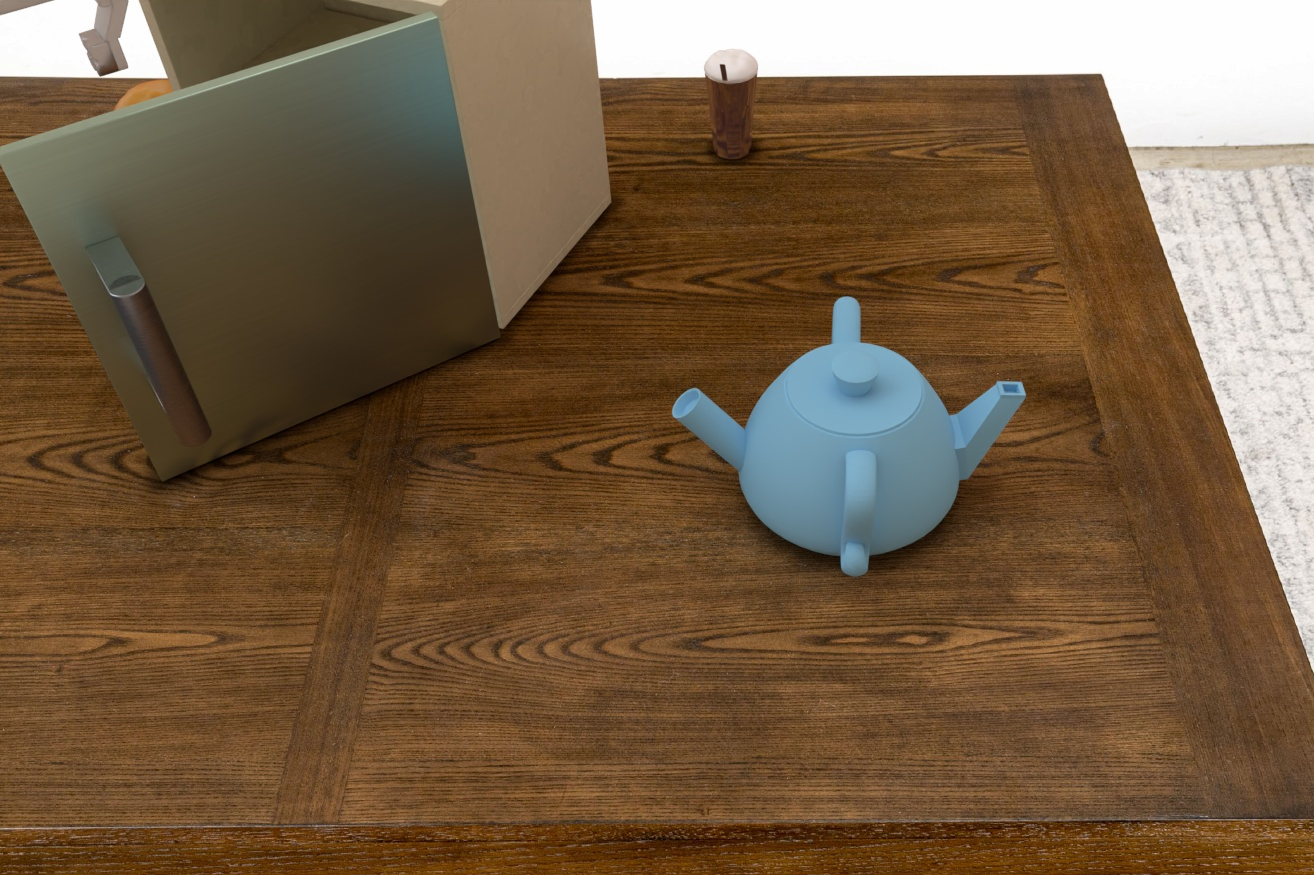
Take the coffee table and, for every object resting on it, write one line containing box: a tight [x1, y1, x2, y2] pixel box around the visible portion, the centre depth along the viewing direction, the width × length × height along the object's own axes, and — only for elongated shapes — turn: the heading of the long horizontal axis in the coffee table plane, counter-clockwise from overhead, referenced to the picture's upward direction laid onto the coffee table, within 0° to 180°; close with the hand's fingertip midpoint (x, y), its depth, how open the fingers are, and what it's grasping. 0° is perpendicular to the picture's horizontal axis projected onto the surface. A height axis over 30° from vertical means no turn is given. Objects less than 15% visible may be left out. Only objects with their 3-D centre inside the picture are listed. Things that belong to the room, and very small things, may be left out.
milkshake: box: [703, 48, 759, 160], centre depth 109 cm, size 4×5×10 cm
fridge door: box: [0, 11, 502, 482], centre depth 81 cm, size 7×26×26 cm, turn 124°
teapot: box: [671, 296, 1027, 578], centre depth 81 cm, size 15×17×11 cm
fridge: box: [138, 0, 612, 330], centre depth 97 cm, size 18×26×26 cm
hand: (16, 97), depth 63 cm, fingers open, 8 cm apart
